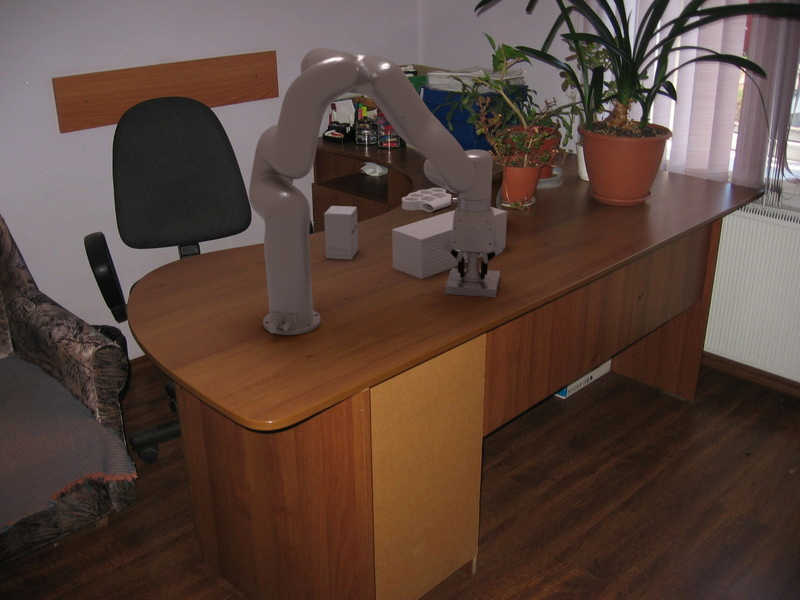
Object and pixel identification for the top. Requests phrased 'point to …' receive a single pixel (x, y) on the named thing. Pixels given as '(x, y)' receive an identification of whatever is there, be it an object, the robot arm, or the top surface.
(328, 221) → the supplement box
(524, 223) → the top surface
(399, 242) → the long grey block
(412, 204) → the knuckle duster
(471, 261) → the rook chess piece
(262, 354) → the top surface
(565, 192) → the top surface
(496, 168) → the wooden container
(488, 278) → the socket plate
